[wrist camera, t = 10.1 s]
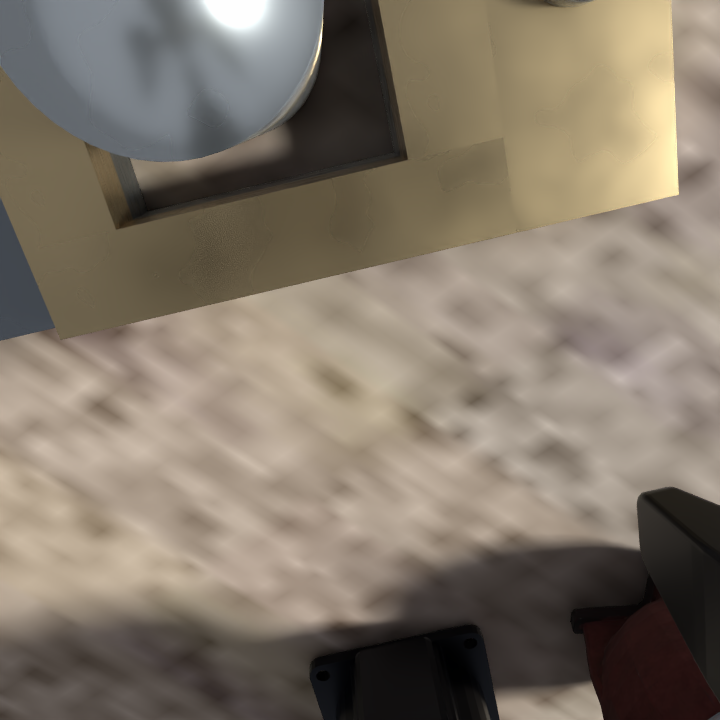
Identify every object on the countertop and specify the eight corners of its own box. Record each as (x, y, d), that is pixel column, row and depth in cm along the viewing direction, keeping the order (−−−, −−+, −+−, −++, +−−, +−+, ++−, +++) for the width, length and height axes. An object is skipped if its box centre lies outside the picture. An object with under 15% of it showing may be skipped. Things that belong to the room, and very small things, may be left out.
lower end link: (486, 214, 18) (510, 228, 16) (-33, 337, 19) (-83, 368, 16) (409, -299, 14) (427, -380, 12) (-256, -128, 15) (-365, -174, 12)
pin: (338, 115, 17) (358, 120, 9) (176, 154, 17) (45, 194, 9) (296, -78, 16) (271, -297, 7) (117, -34, 16) (-111, -199, 7)
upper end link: (623, 182, 18) (701, 199, 15) (99, 306, 19) (44, 353, 15) (587, -344, 14) (682, -507, 10) (-87, -171, 15) (-228, -269, 11)
